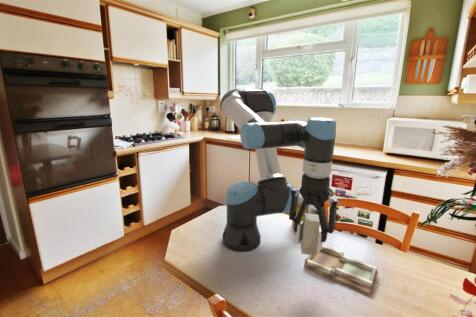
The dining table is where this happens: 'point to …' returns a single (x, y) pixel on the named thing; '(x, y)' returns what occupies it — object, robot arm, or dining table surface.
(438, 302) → the dining table surface
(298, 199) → the glass of beer
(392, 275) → the dining table surface
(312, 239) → the box
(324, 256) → the shallow beige tray
